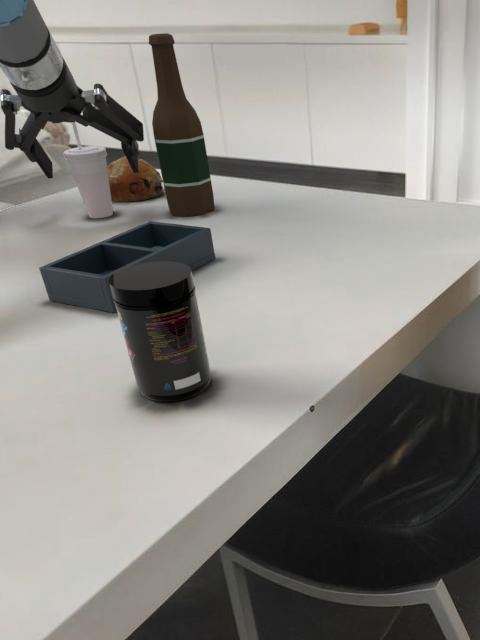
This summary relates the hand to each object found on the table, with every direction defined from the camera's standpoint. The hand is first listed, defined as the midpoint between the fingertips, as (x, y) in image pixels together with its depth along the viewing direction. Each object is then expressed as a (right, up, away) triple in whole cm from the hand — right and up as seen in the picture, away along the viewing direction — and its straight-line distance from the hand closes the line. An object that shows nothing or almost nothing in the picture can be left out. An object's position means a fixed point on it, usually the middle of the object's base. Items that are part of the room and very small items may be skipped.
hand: (93, 167), depth 109 cm
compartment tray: (+15, -24, -23) cm, 36 cm away
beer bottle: (+15, -6, +2) cm, 17 cm away
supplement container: (+26, -41, -46) cm, 67 cm away
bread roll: (+3, +1, +12) cm, 12 cm away
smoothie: (0, -7, +2) cm, 7 cm away
